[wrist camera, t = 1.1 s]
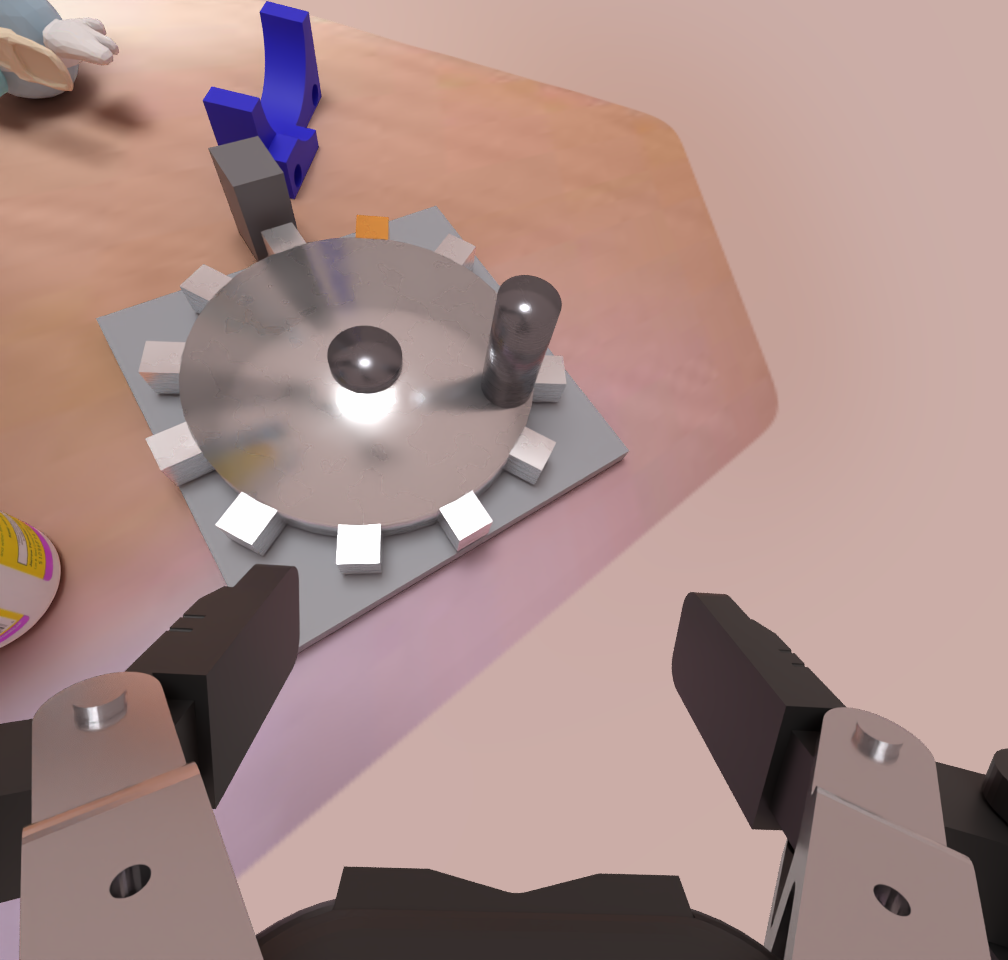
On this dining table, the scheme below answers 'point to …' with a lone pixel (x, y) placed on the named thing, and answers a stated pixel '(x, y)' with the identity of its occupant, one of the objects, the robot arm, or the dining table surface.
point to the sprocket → (357, 389)
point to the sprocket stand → (322, 587)
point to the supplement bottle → (24, 576)
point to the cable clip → (276, 97)
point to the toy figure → (46, 48)
